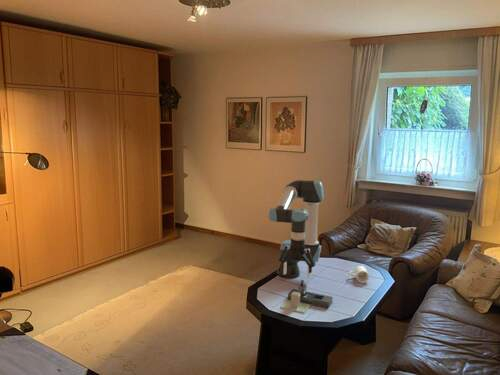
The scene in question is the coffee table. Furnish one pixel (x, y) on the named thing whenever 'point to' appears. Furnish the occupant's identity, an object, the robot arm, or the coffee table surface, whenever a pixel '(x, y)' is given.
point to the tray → (301, 309)
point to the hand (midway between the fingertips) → (296, 276)
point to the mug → (360, 274)
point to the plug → (295, 300)
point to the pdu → (311, 297)
